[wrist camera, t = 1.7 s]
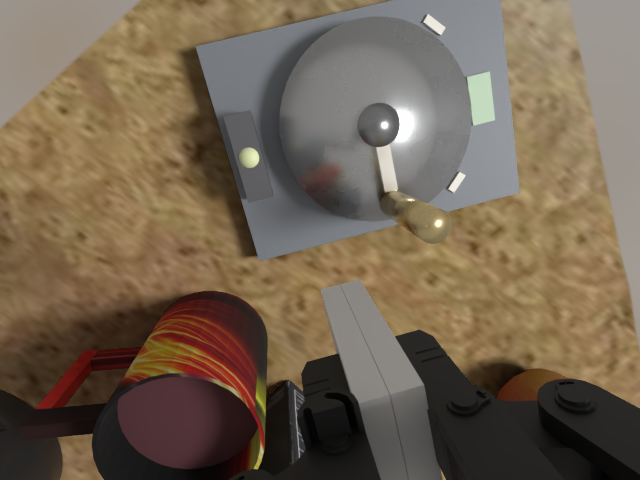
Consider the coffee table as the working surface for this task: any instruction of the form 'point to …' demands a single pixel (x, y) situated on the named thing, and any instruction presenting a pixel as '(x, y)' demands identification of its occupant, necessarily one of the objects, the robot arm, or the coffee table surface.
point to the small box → (282, 429)
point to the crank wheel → (377, 123)
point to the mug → (173, 397)
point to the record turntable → (265, 101)
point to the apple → (526, 385)
